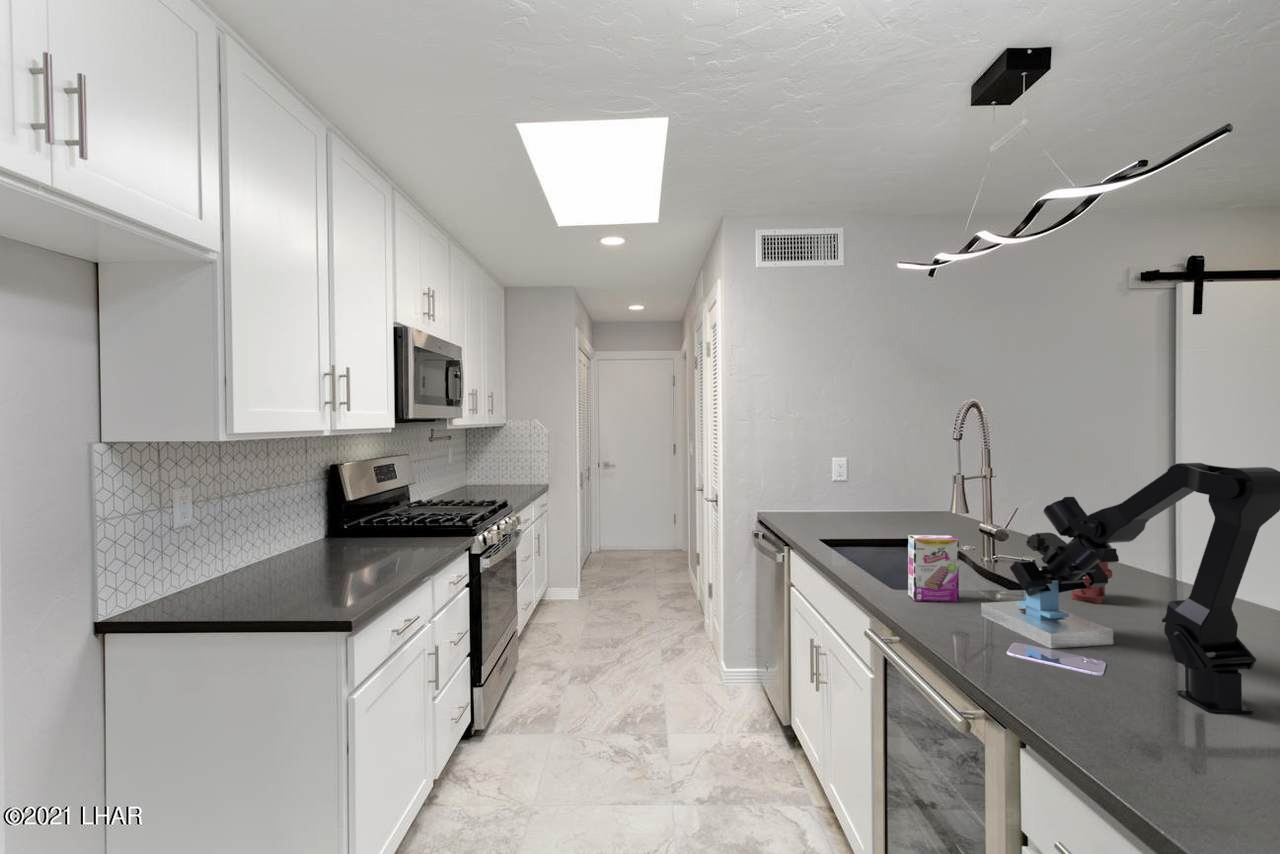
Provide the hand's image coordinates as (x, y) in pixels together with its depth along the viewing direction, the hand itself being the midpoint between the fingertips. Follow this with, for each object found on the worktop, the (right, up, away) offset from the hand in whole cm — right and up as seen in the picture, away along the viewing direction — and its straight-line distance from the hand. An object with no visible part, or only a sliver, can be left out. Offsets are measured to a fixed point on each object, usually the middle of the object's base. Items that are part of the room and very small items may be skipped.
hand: (1037, 593), depth 128 cm
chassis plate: (0, -7, -1) cm, 8 cm away
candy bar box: (-12, -8, +21) cm, 25 cm away
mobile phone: (-8, -8, -17) cm, 21 cm away
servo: (0, -7, -1) cm, 7 cm away
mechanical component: (+25, -7, +18) cm, 32 cm away
